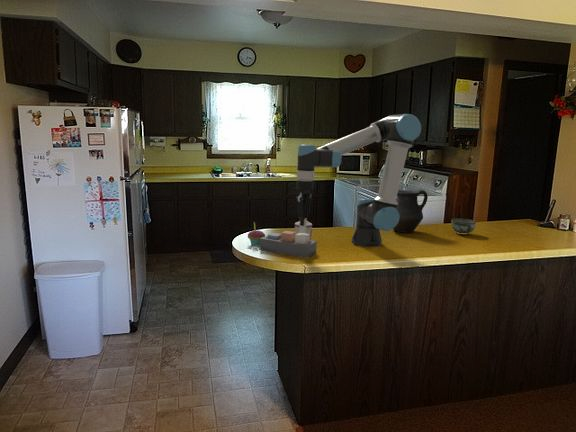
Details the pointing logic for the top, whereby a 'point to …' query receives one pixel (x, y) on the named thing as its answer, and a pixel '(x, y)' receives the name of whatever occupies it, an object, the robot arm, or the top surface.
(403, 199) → the pitcher
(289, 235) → the orange cube
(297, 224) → the teacup with lid
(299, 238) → the key ivory
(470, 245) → the top surface
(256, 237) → the cupcake
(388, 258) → the top surface
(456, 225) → the bowl
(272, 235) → the blue cube
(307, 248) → the tray
